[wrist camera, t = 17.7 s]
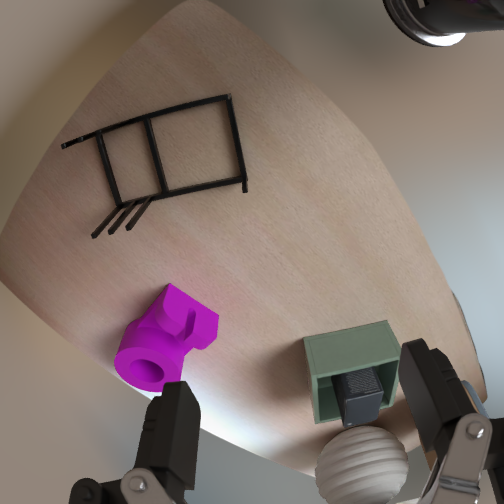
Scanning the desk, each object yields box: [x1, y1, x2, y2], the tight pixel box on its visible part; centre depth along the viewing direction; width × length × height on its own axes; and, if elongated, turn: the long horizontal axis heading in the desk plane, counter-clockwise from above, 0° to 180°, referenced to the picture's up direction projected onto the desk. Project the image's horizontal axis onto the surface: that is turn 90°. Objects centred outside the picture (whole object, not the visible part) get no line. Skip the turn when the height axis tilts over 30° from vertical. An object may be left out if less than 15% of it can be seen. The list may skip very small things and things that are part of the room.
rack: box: [61, 94, 248, 239], centre depth 30 cm, size 16×10×9 cm, turn 100°
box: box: [331, 366, 384, 428], centre depth 45 cm, size 8×6×11 cm
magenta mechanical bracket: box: [114, 283, 219, 392], centre depth 44 cm, size 16×10×6 cm, turn 139°
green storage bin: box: [303, 320, 401, 424], centre depth 47 cm, size 14×14×8 cm
